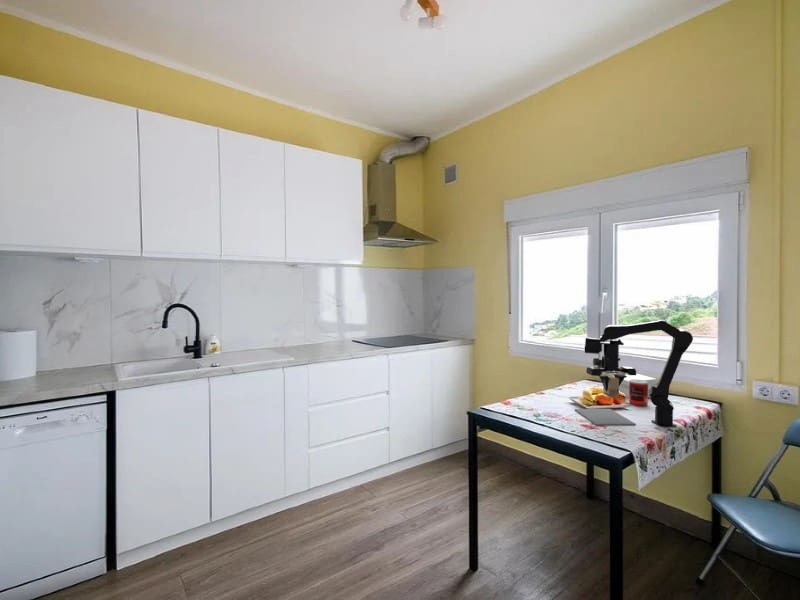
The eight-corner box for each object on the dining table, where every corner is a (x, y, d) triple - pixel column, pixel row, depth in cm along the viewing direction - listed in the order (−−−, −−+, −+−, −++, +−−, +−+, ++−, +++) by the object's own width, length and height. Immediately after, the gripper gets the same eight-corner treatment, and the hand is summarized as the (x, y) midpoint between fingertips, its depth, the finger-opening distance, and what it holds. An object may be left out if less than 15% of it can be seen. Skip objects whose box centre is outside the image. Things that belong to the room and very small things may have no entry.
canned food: (642, 401, 197) (642, 379, 196) (651, 406, 189) (651, 383, 188) (626, 401, 197) (626, 379, 197) (633, 406, 189) (634, 383, 189)
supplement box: (636, 390, 218) (636, 373, 218) (657, 397, 206) (657, 378, 205) (609, 392, 214) (610, 375, 214) (629, 399, 201) (630, 380, 201)
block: (618, 397, 171) (618, 378, 171) (610, 397, 171) (610, 378, 171) (611, 393, 177) (611, 375, 177) (603, 393, 177) (603, 375, 177)
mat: (635, 425, 164) (635, 423, 164) (596, 425, 164) (596, 423, 164) (610, 410, 184) (610, 408, 184) (574, 410, 184) (574, 409, 184)
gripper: (622, 351, 181) (622, 386, 182) (580, 351, 181) (580, 386, 182) (637, 355, 170) (636, 392, 171) (592, 356, 170) (592, 393, 171)
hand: (610, 391), depth 174 cm, fingers closed on block, 4 cm apart
